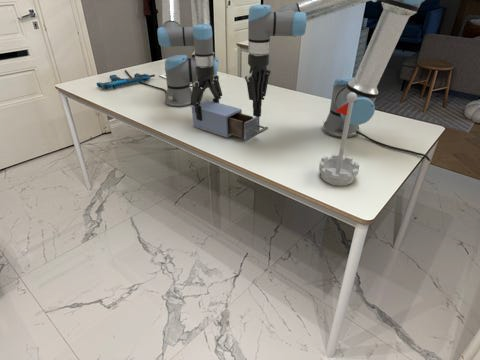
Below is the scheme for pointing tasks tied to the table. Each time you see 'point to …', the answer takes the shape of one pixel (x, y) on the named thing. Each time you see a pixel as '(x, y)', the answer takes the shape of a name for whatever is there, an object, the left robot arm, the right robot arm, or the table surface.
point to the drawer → (244, 126)
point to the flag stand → (341, 154)
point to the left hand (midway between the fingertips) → (207, 116)
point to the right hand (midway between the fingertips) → (256, 115)
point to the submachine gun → (124, 81)
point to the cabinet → (214, 117)
